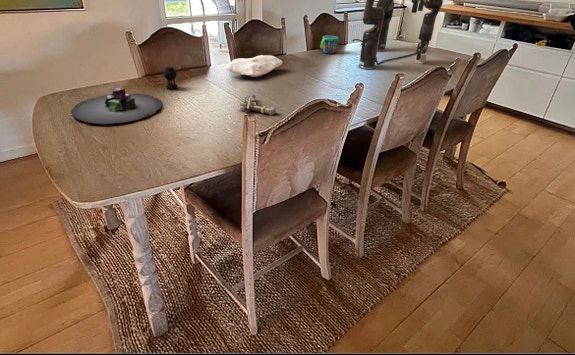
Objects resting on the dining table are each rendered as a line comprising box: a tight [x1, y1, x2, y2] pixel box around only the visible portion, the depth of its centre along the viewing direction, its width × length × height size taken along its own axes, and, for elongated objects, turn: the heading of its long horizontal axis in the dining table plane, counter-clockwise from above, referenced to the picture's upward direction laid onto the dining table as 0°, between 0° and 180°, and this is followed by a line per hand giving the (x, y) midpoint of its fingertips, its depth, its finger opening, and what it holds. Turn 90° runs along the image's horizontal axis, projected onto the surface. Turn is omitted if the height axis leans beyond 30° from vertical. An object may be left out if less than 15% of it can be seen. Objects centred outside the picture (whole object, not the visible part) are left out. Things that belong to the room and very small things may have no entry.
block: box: [414, 53, 427, 65], centre depth 231 cm, size 5×5×5 cm
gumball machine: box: [161, 66, 179, 90], centre depth 173 cm, size 7×6×10 cm
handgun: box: [239, 93, 277, 116], centre depth 158 cm, size 3×18×15 cm
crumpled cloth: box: [225, 54, 283, 78], centre depth 198 cm, size 24×35×9 cm
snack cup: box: [319, 34, 340, 55], centre depth 242 cm, size 16×10×10 cm
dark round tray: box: [70, 86, 163, 125], centre depth 150 cm, size 35×35×9 cm
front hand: (417, 11), depth 171 cm, fingers open, 8 cm apart
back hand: (420, 58), depth 231 cm, fingers open, 8 cm apart
